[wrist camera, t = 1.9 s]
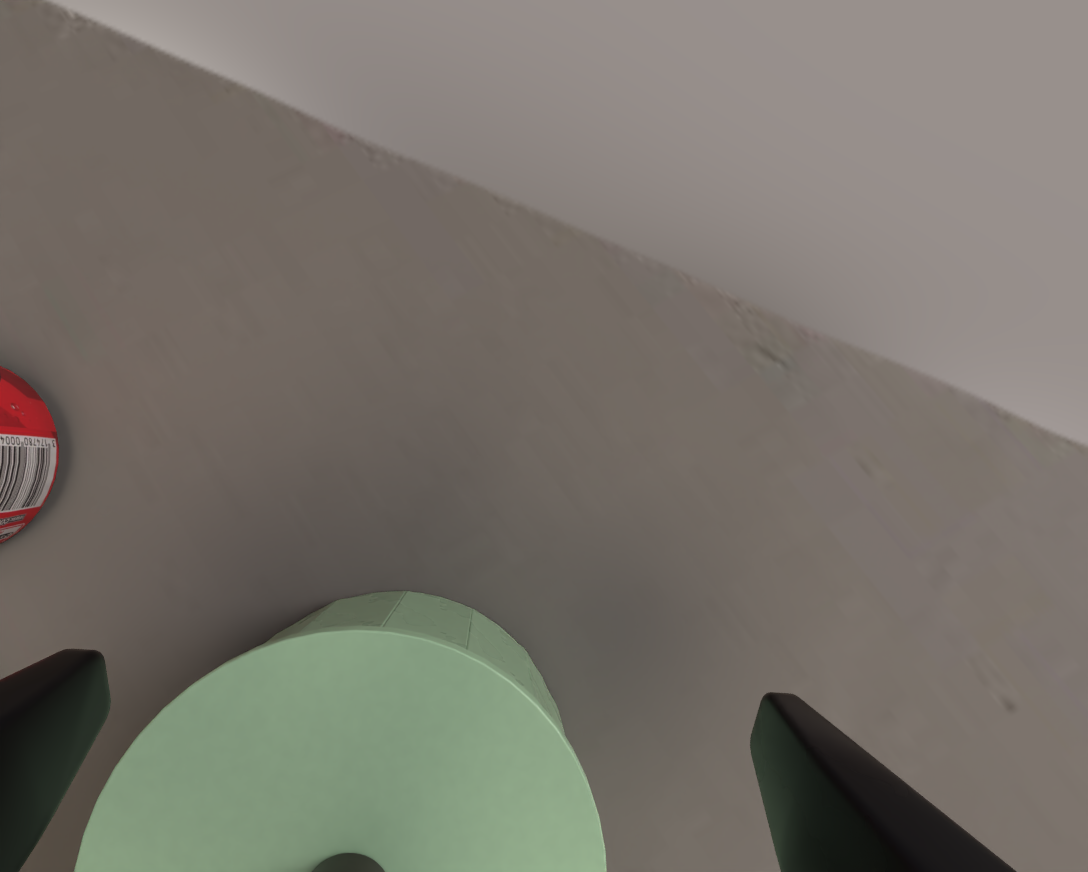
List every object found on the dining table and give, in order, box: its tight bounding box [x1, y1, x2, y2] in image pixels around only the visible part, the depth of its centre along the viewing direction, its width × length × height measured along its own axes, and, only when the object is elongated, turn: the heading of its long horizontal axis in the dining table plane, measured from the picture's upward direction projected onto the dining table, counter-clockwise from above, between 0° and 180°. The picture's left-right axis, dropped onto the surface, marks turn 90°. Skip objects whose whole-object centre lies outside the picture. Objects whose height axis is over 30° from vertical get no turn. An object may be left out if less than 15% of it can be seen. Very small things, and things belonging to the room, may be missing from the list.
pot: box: [264, 591, 565, 736], centre depth 19 cm, size 12×12×6 cm
